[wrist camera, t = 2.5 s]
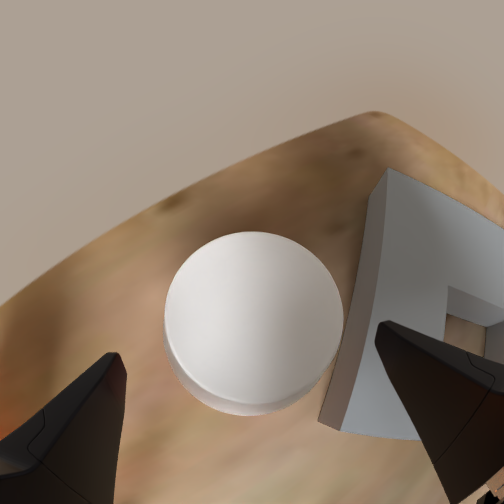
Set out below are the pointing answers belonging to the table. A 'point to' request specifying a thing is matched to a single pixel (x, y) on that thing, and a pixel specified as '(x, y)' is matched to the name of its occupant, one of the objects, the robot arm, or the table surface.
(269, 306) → the pill bottle
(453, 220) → the notched board
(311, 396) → the table surface
